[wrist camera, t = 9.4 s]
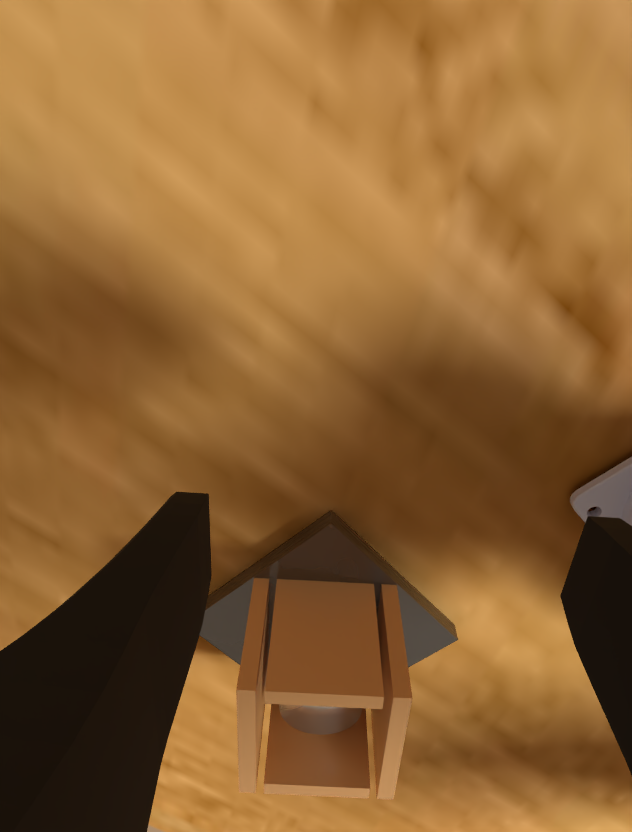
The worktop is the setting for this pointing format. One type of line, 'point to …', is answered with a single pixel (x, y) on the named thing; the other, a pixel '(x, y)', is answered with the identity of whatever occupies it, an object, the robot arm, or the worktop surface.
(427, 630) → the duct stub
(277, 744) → the brown hollow box
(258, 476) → the worktop surface
